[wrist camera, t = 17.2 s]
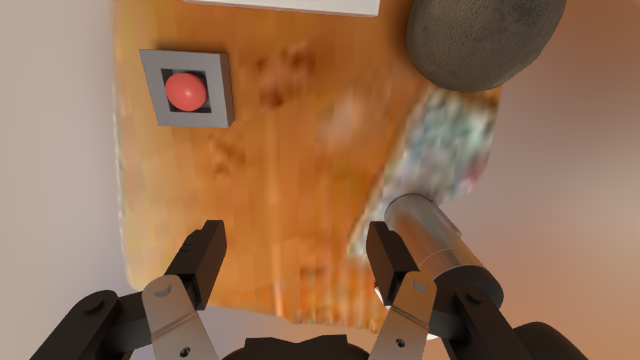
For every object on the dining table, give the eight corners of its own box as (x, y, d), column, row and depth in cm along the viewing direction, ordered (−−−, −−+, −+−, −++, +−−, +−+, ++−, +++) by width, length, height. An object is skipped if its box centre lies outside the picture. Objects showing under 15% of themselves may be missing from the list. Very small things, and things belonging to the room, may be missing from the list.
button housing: (227, 53, 33) (219, 54, 29) (234, 120, 37) (228, 127, 33) (156, 49, 32) (138, 49, 28) (172, 118, 36) (158, 125, 32)
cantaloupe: (474, -66, 29) (623, -160, 16) (497, 49, 35) (617, 50, 22) (369, 8, 32) (422, -21, 18) (408, 102, 38) (468, 131, 25)
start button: (207, 72, 32) (200, 74, 29) (213, 106, 34) (206, 111, 31) (172, 70, 31) (161, 72, 29) (179, 105, 33) (169, 110, 31)
